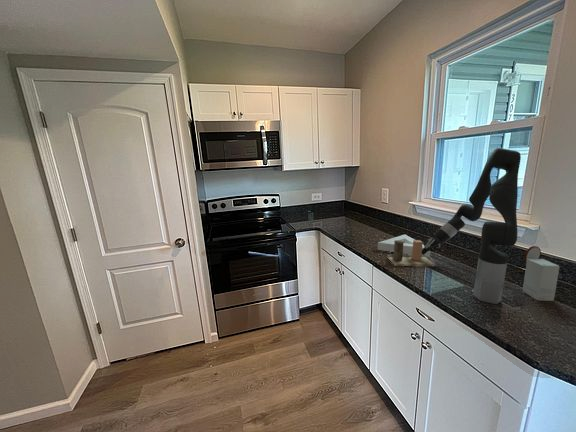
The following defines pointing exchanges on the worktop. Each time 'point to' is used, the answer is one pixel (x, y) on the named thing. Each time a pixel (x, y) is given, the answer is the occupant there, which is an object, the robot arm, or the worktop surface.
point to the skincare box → (540, 279)
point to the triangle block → (407, 245)
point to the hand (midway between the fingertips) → (421, 253)
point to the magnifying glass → (532, 253)
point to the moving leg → (417, 250)
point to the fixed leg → (398, 250)
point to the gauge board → (411, 261)
